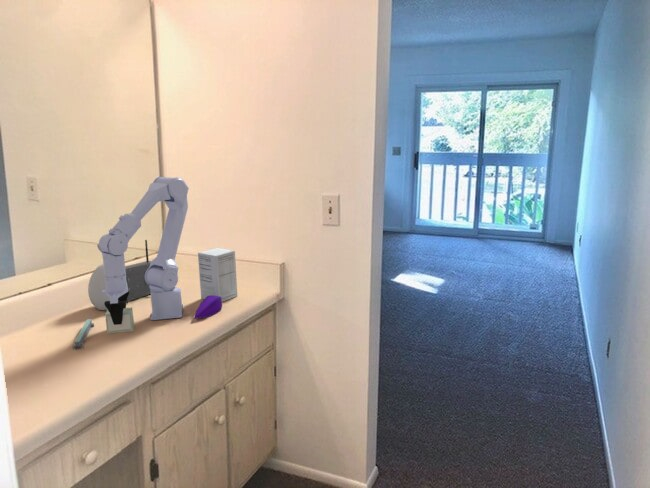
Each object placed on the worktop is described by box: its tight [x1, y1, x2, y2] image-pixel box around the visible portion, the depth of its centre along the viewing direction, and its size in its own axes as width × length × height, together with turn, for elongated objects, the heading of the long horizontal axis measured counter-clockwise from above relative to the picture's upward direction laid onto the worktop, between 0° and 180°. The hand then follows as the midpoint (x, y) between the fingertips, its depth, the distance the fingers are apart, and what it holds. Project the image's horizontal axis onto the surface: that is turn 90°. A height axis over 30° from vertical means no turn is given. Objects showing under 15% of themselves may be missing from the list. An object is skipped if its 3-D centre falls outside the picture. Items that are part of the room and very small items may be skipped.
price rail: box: [72, 318, 95, 350], centre depth 146 cm, size 2×18×2 cm, turn 15°
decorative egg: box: [87, 263, 128, 311], centre depth 171 cm, size 12×12×15 cm
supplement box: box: [197, 247, 238, 303], centre depth 179 cm, size 10×9×17 cm
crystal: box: [194, 295, 223, 319], centre depth 164 cm, size 5×5×15 cm
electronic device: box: [125, 239, 152, 302], centre depth 179 cm, size 17×7×20 cm, turn 149°
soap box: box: [104, 307, 135, 334], centre depth 151 cm, size 7×4×6 cm, turn 105°
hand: (119, 319), depth 151 cm, fingers open, 7 cm apart
